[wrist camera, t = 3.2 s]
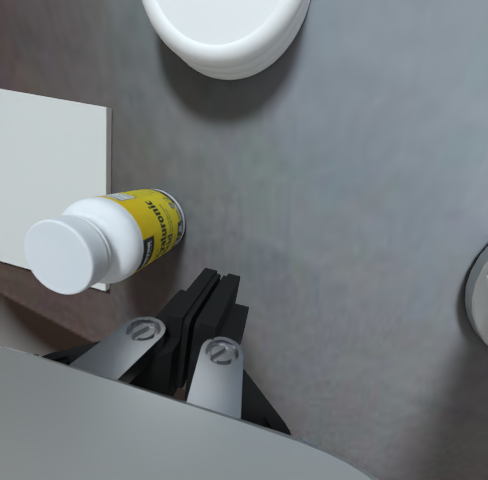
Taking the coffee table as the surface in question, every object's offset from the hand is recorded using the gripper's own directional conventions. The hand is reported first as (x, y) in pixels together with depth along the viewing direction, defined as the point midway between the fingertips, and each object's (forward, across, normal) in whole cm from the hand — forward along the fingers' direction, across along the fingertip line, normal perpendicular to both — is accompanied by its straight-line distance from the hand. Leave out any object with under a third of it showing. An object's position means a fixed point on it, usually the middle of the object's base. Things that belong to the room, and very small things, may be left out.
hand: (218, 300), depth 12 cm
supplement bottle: (+10, +8, 0) cm, 13 cm away
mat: (+10, +19, 0) cm, 21 cm away
